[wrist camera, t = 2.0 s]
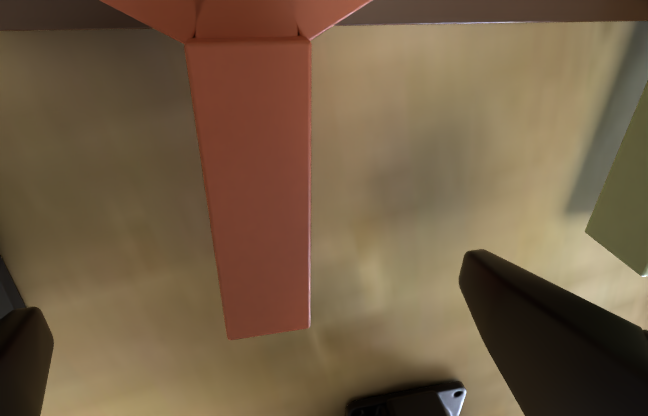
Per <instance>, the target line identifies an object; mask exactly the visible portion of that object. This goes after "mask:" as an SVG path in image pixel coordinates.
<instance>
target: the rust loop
mask: <svg viewBox="0 0 648 416" xmlns="http://www.w3.org/2000/svg"><path fill="white" fill-rule="evenodd" d="M100 1H102V2H103V3H105V4H107V5H109V6H111V7H113V8H115V9H117V10H119V11H121V12H123V13H125V14H127V15H129V16H131V17H132V18H134V19H136V20H138V21H140V22H142V23H144V24H146V25H148V26H150V27H152V28H154V29H156V30H158V31H160V32H161V33H163V34H165V35H167V36H169V37H171V38H173V39H175V40H177V41H179V42H181V43H183V44H185V46H184V50H185V57H186V63H187V70H188V77H189V84H190V90H191V97H192V104H193V111H194V117H195V124H196V131H197V138H198V144H199V151H200V158H201V165H202V171H203V178H204V185H205V192H206V198H207V205H208V212H209V219H210V225H211V232H212V239H213V246H214V252H215V259H216V266H217V273H218V280H219V286H220V293H221V300H222V307H223V313H224V320H225V327H226V334H227V338H228V339H229V340H236V339H242V338H249V337H255V336H262V335H268V334H274V333H281V332H287V331H294V330H300V329H307V328H309V327H310V325H311V42H310V40H312V39H313V38H315V37H317V36H318V35H320V34H321V33H323V32H324V31H326V30H327V29H329V28H331V27H332V26H334V25H335V24H337V23H338V22H340V21H341V20H343V19H345V18H346V17H348V16H349V15H351V14H352V13H354V12H355V11H357V10H359V9H360V8H362V7H363V6H365V5H366V4H368V3H369V2H371V1H373V0H100Z"/></svg>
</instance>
